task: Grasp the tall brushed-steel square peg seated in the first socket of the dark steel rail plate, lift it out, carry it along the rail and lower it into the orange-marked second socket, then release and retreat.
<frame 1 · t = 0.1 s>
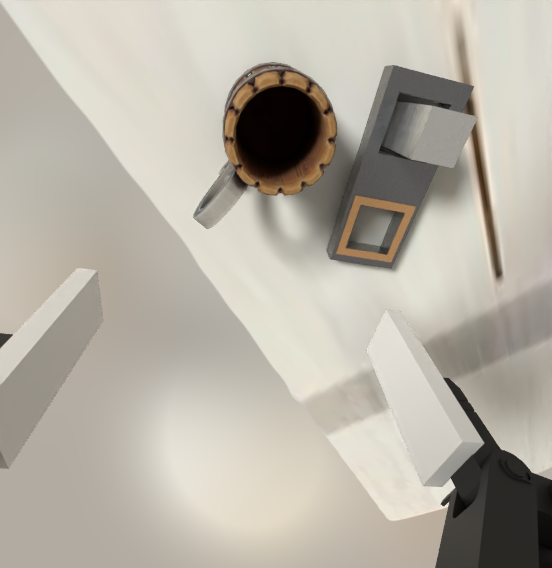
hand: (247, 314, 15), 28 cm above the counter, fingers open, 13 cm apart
steel peg: (404, 127, 36), resting in rail plate
rail plate: (385, 179, 39), on the counter
mug: (257, 137, 36), on the counter
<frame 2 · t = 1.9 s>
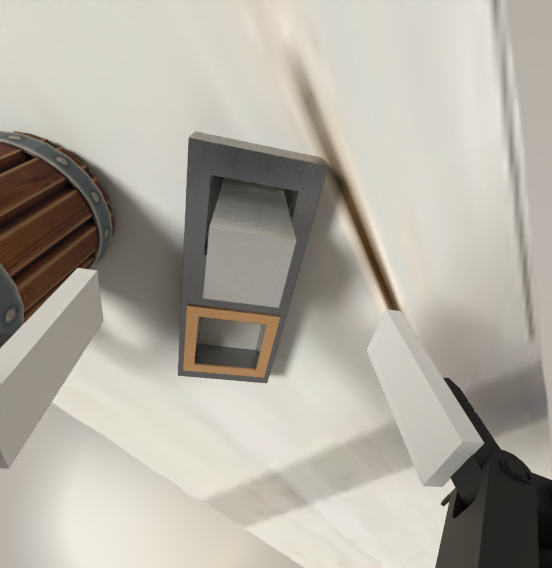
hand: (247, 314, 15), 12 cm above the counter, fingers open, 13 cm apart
steel peg: (249, 211, 25), resting in rail plate
rail plate: (239, 275, 28), on the counter
mug: (31, 226, 25), on the counter
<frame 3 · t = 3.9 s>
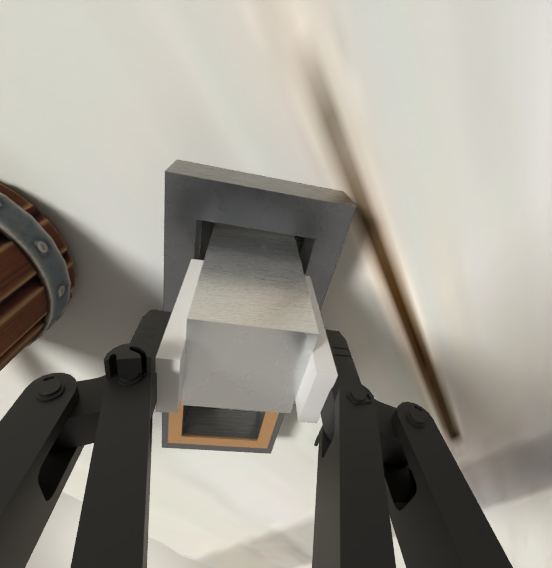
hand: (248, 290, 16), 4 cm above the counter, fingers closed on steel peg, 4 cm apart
steel peg: (249, 258, 19), resting in rail plate, touching gripper
rail plate: (236, 331, 22), on the counter
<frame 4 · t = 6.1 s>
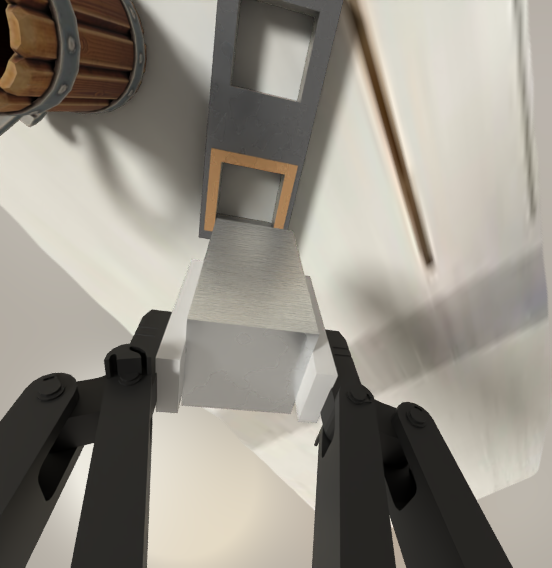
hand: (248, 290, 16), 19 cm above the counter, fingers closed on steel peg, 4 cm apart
steel peg: (249, 258, 19), point 16 cm above the counter, touching gripper
rail plate: (259, 129, 30), on the counter
mug: (68, 64, 26), on the counter
when the fingers open (5 cm above the counter, at t = 8.6 s): steel peg drops 1 cm, resting in rail plate.
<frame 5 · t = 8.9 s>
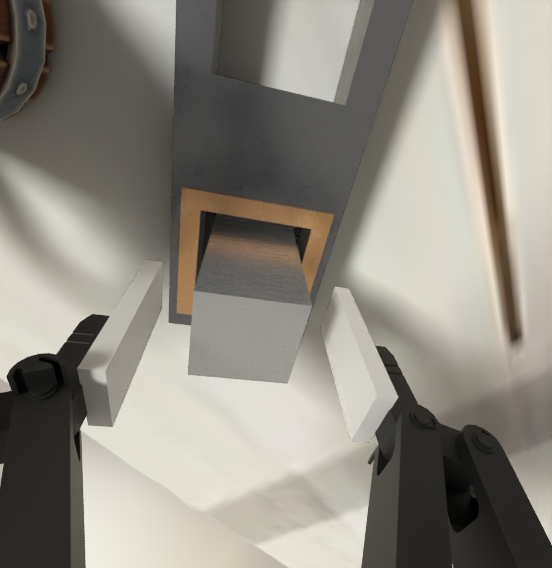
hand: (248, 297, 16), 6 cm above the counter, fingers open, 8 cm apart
steel peg: (249, 246, 20), resting in rail plate
rail plate: (266, 151, 17), on the counter
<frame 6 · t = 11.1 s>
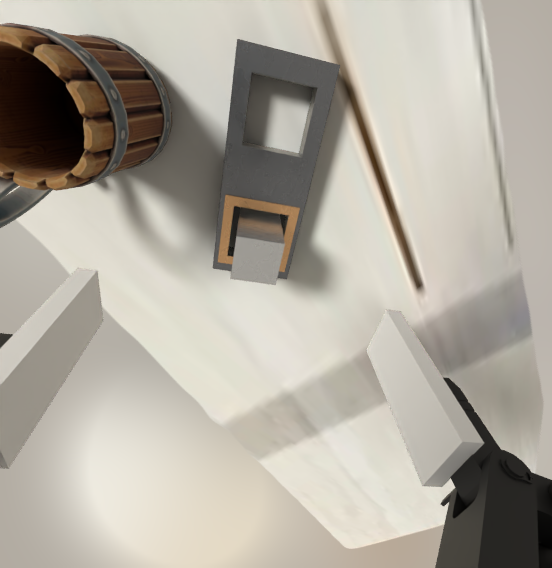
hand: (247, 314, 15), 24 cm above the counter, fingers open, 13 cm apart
steel peg: (257, 227, 37), resting in rail plate
rail plate: (266, 176, 34), on the counter
mug: (105, 127, 31), on the counter
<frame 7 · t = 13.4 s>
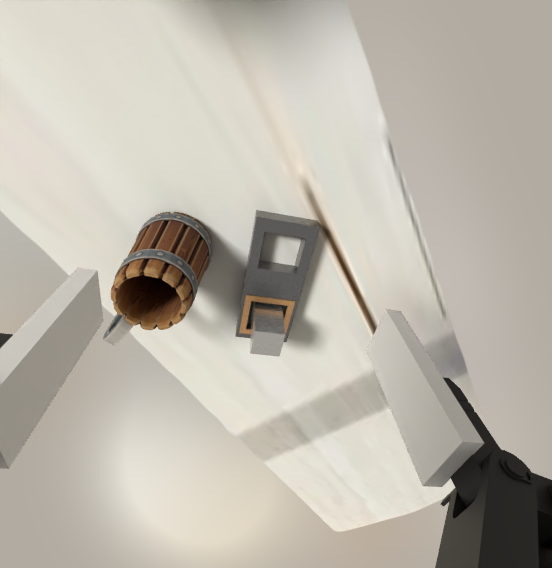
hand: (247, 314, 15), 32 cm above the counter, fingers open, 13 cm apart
steel peg: (265, 307, 54), resting in rail plate
rail plate: (272, 279, 51), on the counter
mug: (168, 253, 48), on the counter
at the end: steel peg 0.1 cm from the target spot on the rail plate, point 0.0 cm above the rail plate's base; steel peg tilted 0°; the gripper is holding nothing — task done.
